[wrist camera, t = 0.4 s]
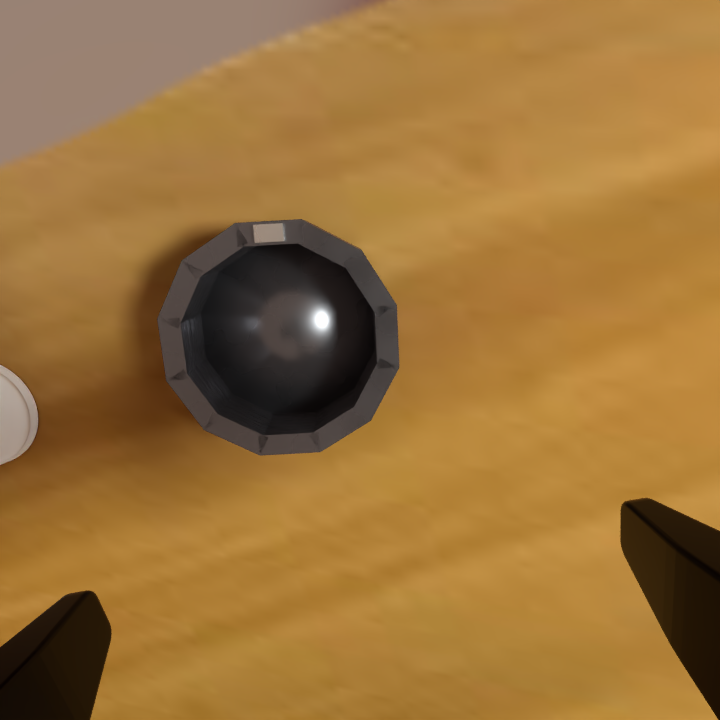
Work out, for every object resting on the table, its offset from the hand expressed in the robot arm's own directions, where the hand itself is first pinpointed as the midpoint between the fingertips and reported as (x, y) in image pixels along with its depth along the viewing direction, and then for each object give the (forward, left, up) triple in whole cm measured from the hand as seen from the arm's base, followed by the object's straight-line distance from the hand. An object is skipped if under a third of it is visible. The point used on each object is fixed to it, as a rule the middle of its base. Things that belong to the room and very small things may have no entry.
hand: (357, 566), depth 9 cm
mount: (+2, +3, -14) cm, 15 cm away
